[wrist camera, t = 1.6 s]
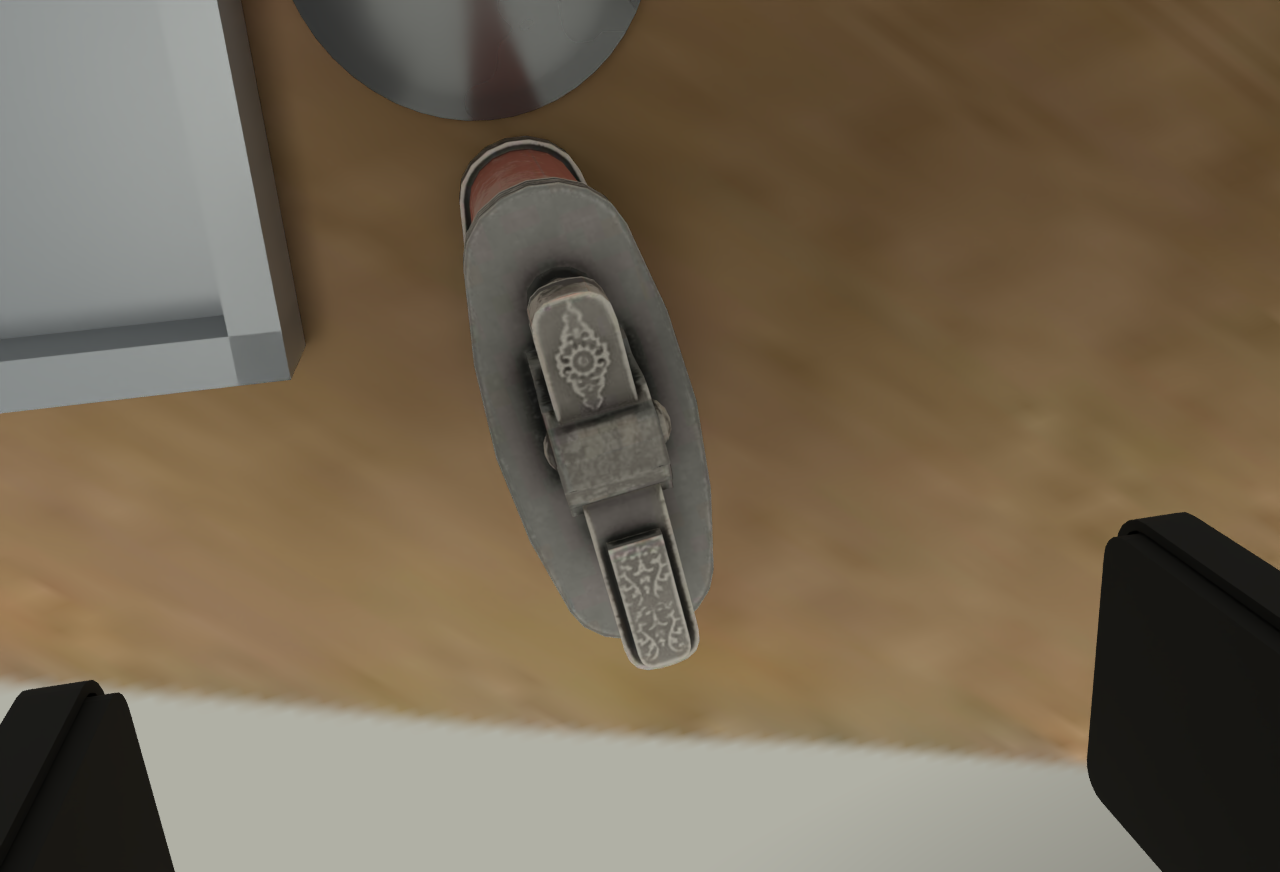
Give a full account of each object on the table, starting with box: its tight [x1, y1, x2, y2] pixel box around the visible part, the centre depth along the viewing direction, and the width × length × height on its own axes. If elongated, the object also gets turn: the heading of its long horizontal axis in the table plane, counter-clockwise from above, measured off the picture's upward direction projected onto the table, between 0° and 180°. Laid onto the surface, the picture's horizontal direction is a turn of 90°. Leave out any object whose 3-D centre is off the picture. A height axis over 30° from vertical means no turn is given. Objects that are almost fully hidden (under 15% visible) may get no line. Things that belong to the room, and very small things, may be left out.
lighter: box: [459, 136, 713, 670], centre depth 21 cm, size 8×3×10 cm, turn 14°
